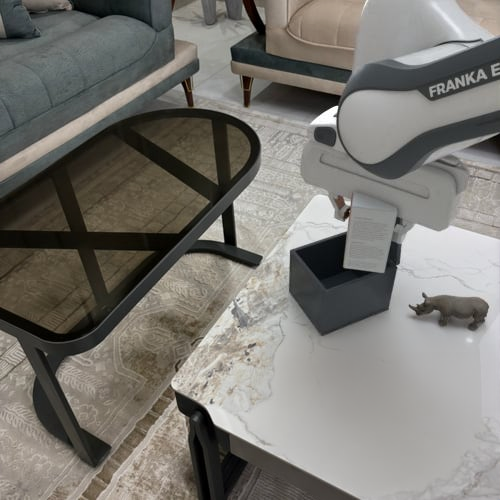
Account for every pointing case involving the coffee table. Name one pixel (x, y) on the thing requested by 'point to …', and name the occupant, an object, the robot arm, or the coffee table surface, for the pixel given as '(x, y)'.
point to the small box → (369, 233)
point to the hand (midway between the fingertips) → (368, 228)
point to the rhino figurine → (454, 308)
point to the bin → (336, 285)
